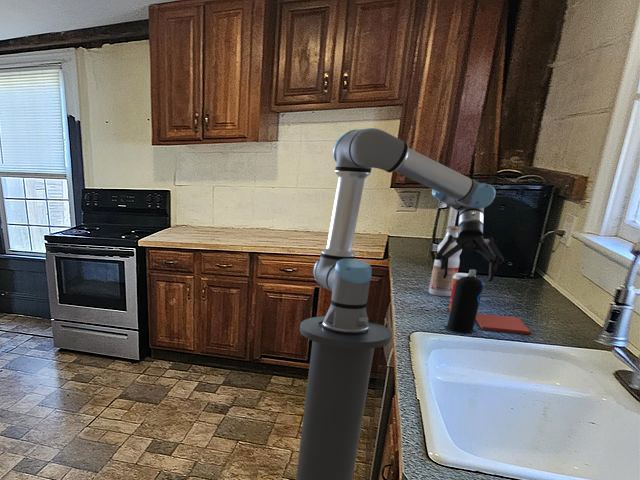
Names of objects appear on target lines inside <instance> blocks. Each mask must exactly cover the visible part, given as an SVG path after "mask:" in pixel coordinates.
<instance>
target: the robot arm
mask: <svg viewBox="0 0 640 480" xmlns="http://www.w3.org/2000/svg"><path fill="white" fill-rule="evenodd" d="M332 157H333V159H334V161H335V169H334V173H335V174H336V175H337V177H338V179H337V183H336V191H335V195H334V196H335V197H334V202H333V208H332V213H331V219H330V220H331V221H330V226H329V231H328V237H327V243H326V247H325V248H324V249H322V250H321V253H320V258H318V259H317V261H316V262H315V264H314V265H313V273H312V274H313V278H314V280H315V281H316V283H317V284H319V286H320V287H322V288H323V289H325V290H328V291H329V292H331V300H330V305H329V308H328V310H327V312H326V314H325V315H324V316H325V318H324V320H323V321H321V322H319V324H322V323H323V328H324V329H326V330H328V331H330V332H334V333H338V334H346V335H360V334H365V333H367V332H368V329H369V323H368V321H369V317H368V313H367V305H368V298H369V292H370V285H371V280H372V277H373V276H372V272H373V271H372V270H373V269H372V266H371V264H370V263H368V262H367V261H364V260H362V259H361V260H360V259H357V258H356V254H355V253H354V251H353V245H354V238H355V234H356V228H357V223H358V218H359V213H360V207H361V201H362V198H363V197H362V196H363V191H364V185H365V181H366V178H368V177H369V176H370V175H371V174H372V169H378V170H382V171H385V172H387V173H390V174H391V173H394V172H395V173H397V174H400V175H402V176H403V177H406V178H408V179H410V180H412V181H415V182H416V183H419V184H420V185H423V186H425V187H427V188H429V189H431V195H432V196H433V198H435V199H436V200H437V201H440V202H441V203H443V204H445V205H447V206H448V207H451V208H452V209H453V210H455V211H457V212H458V226H457V227H458V237H457V238H456V237H453V236H452V235H449V237H448V240H447V242H446V243H445V244H444V245H443V247H442V248H441V249H440V251H439V252H438V253H436V255H435V258H434V260H435V259H436V260H440V262H441V267H440V268H441V269H444V272H443V278H446V276H447V271H448V258H450V257H451V256H452V255H454V254H455V253H456V252H458V251H460V250H461V249H462V251H471V252H474V251H476V253H478V254H480V255H481V256H482V257H483V258H484V259H486V261H487V262H488V263H489V265H488V283H491V282H492V281H493V279H494V276H495V275H494V273H496V272H497V270H498V265H502V264H503V262H504V260H505V257H504V256H503V254H502V252H501V251H500V250H499V248H498V247H497V245H496V244H495V239H494V237H493V236H490V237H489V238H484V217H485V216H484V215H485V213H484V212H485V208H487V207H488V206H490V205H491V204H492V203H493V202H494V200H495V197H496V189H495V188H494V186H493V185H492V184H490V183H486V182H478V181H477V180H475V179H473V178H470V177H468V176H466V175H464V174H462V173H461V172H458V171H456V170H454V169H452V168H450V167H448V166H446V165H444V164H442V163H440V162H438V161H436V160H433V159H432V158H430V157H428V156H426V155H424V154H422V153H420V152H418V151H416V150H414V149H411V148H410V147H409V144H408V142H406V141H405V140H402V139H400V138H398V137H396V136H394V135H392V134H390V133H389V132H386V131H385V130H382V129H380V128H375V127H370V128H369V127H367V128H359V129H357V128H356V129H352V130H349V131H346V132H344V133H343V134H341V135H340V136H339V137H338V138H337V140H336V142H335V144H334V145H333V150H332ZM455 241H456V243H457V245H456V246H455V247H453V248H452V249H451V250H449V251H448V252H447V253H445V254H444V255H443V253H444V252H445V251H446V250H447V248H448V247H449V246H450V244H452V243H453V242H455ZM487 248H488V249H487Z"/></svg>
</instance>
